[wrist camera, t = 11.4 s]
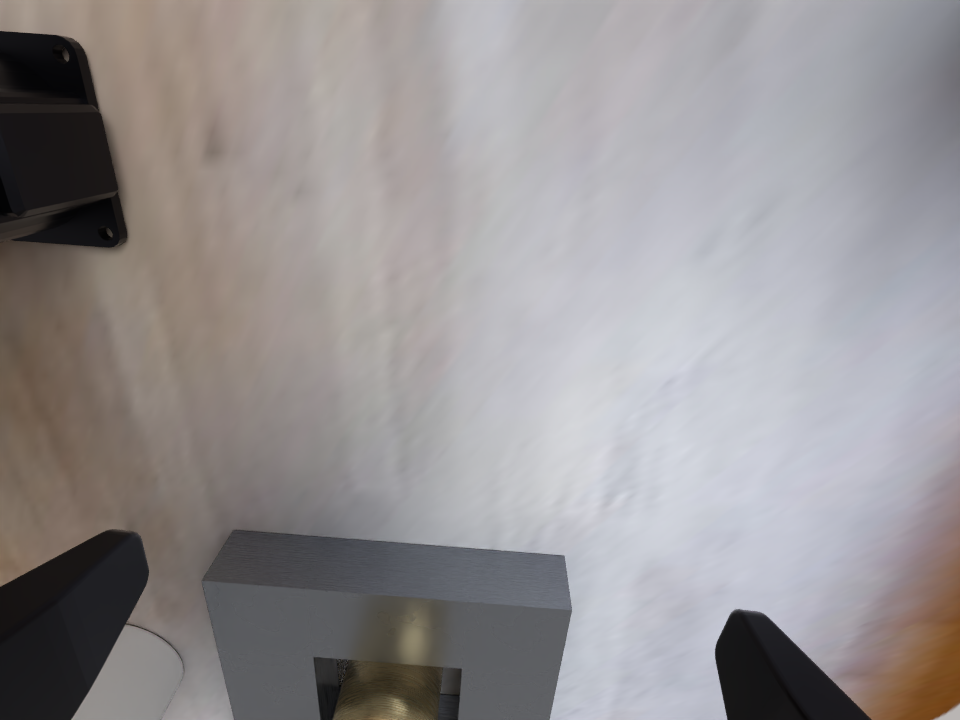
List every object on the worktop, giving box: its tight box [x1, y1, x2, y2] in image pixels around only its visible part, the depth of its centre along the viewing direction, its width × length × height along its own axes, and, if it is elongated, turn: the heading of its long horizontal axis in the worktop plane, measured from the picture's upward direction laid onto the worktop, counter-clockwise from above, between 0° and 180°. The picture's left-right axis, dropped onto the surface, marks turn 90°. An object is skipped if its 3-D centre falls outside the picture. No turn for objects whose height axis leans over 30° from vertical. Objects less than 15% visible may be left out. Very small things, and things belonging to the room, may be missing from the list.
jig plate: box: [202, 530, 572, 720], centre depth 27 cm, size 16×16×3 cm
